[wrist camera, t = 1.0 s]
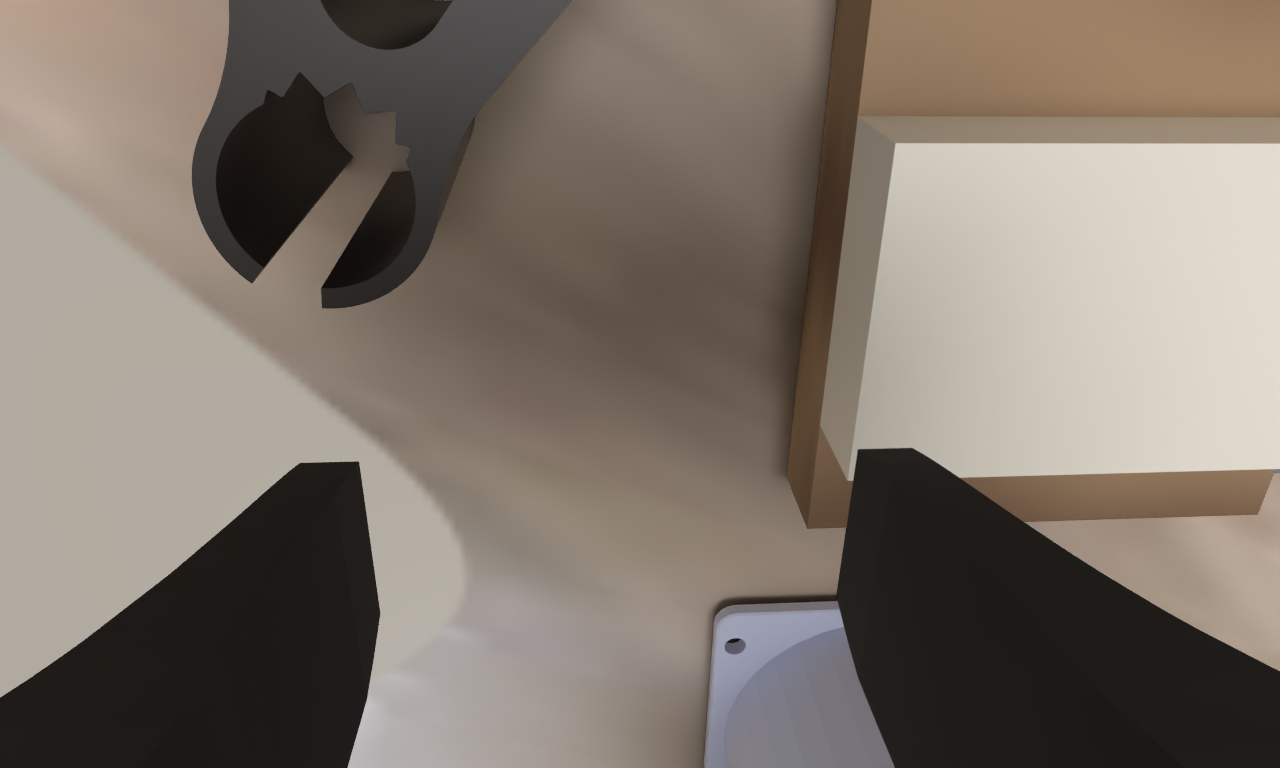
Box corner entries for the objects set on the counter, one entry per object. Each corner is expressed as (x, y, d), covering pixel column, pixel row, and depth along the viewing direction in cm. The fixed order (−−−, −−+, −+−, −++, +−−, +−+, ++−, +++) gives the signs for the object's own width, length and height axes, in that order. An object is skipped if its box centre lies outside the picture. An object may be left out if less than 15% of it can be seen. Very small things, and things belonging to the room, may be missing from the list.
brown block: (1201, 465, 22) (1257, 514, 20) (786, 476, 21) (807, 528, 20) (1377, -45, 17) (1472, -38, 15) (843, -53, 16) (877, -47, 15)
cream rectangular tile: (1250, 415, 19) (1321, 467, 17) (819, 425, 19) (847, 481, 17) (1358, 117, 16) (1455, 143, 15) (857, 116, 16) (896, 143, 14)
